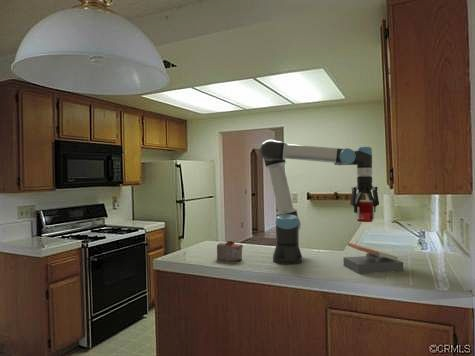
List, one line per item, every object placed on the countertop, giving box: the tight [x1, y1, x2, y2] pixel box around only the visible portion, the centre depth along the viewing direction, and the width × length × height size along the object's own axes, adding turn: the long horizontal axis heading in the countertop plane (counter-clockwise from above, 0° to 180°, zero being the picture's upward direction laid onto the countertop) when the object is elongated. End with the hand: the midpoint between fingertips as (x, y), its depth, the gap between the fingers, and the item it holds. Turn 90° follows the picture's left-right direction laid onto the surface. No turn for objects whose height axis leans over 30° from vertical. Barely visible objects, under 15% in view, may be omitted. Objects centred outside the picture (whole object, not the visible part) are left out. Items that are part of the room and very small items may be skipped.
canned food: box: [356, 199, 374, 223], centre depth 173 cm, size 8×8×11 cm
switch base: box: [343, 253, 404, 274], centre depth 154 cm, size 22×14×6 cm, turn 99°
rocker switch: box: [347, 242, 399, 260], centre depth 154 cm, size 20×10×2 cm, turn 99°
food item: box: [216, 240, 244, 262], centre depth 172 cm, size 14×8×10 cm, turn 69°
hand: (364, 218), depth 173 cm, fingers closed on canned food, 8 cm apart
